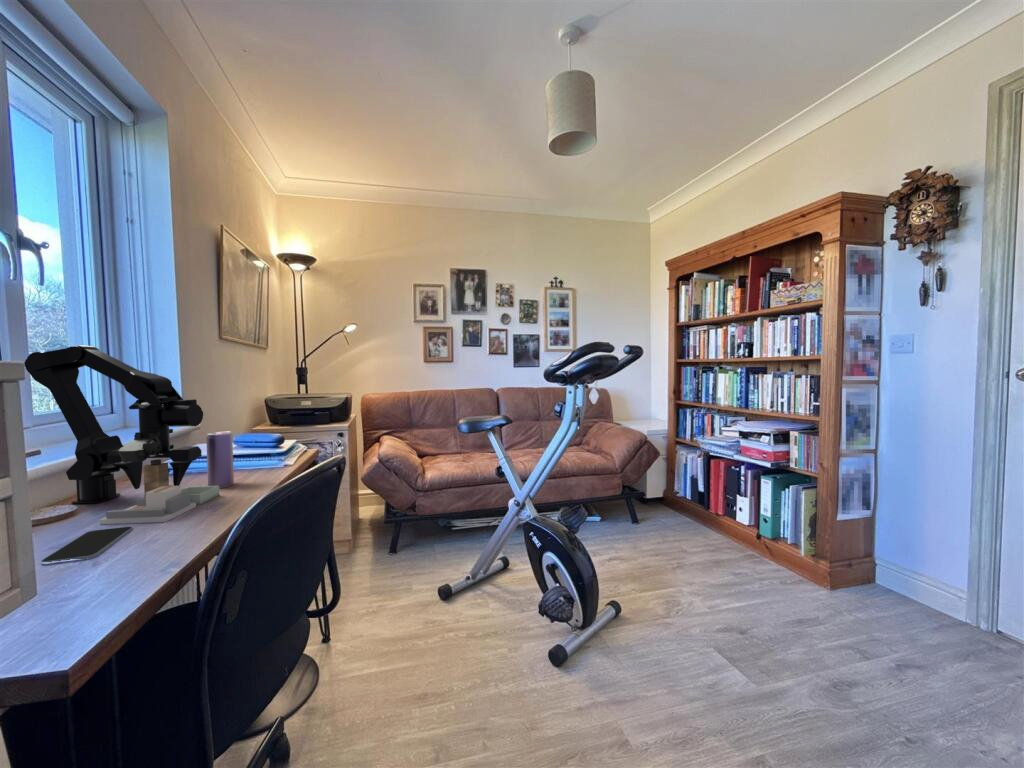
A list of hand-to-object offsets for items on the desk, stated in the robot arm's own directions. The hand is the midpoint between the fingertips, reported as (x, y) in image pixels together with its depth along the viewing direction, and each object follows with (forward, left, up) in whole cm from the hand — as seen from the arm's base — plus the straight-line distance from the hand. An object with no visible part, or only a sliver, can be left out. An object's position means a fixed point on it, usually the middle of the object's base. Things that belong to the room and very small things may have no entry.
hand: (156, 488), depth 106 cm
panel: (+7, -12, -3) cm, 14 cm away
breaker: (+10, -12, -1) cm, 16 cm away
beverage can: (+9, +11, -3) cm, 15 cm away
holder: (+10, -2, -3) cm, 11 cm away
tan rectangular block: (0, 0, -3) cm, 3 cm away
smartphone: (+8, -28, -3) cm, 29 cm away
